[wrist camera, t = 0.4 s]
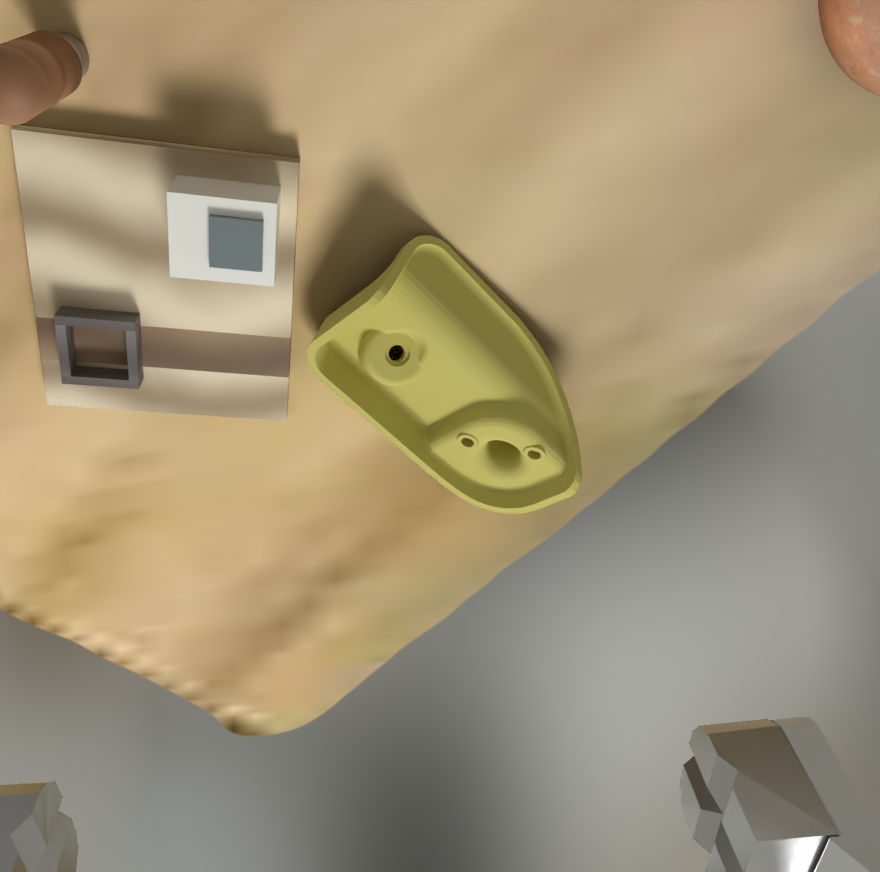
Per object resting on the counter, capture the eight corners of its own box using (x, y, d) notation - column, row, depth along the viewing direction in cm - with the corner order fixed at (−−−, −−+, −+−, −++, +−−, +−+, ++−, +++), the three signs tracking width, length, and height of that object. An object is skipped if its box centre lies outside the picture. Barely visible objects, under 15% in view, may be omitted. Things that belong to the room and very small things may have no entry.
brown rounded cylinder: (32, 20, 44) (-42, 44, 35) (94, 28, 44) (35, 54, 36) (39, 83, 45) (-30, 120, 37) (99, 90, 46) (44, 129, 38)
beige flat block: (18, 124, 46) (1, 135, 44) (300, 158, 49) (297, 169, 47) (52, 395, 56) (40, 416, 54) (287, 412, 58) (285, 432, 56)
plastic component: (292, 356, 54) (387, 287, 47) (332, 290, 58) (423, 218, 52) (490, 526, 61) (595, 487, 55) (511, 455, 66) (610, 412, 60)
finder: (180, 256, 50) (168, 279, 47) (177, 174, 48) (165, 193, 44) (277, 265, 51) (273, 289, 48) (280, 186, 49) (276, 205, 45)
